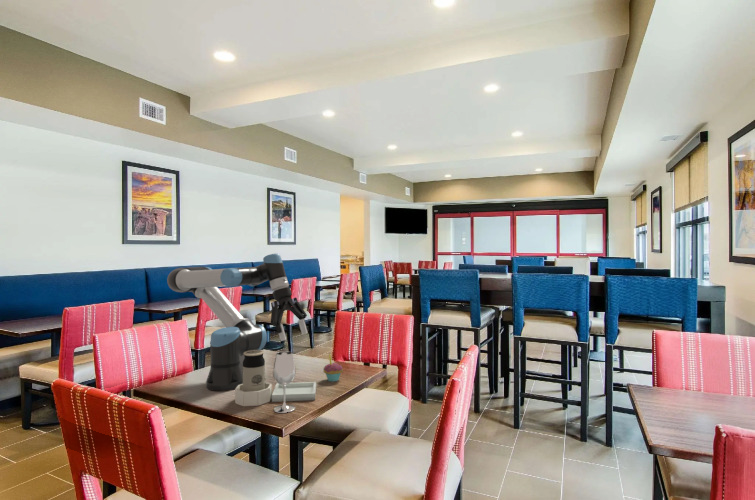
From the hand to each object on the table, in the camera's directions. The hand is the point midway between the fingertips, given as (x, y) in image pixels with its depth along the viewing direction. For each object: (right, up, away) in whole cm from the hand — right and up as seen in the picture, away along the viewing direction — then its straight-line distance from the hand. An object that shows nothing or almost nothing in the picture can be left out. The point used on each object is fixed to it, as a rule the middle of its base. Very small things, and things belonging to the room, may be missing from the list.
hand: (294, 337), depth 175 cm
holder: (-12, -20, -17) cm, 29 cm away
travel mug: (-12, -20, -17) cm, 29 cm away
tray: (+2, -20, -12) cm, 23 cm away
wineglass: (+2, -20, -27) cm, 34 cm away
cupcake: (+15, -20, +7) cm, 26 cm away
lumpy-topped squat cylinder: (-29, -20, +26) cm, 44 cm away
